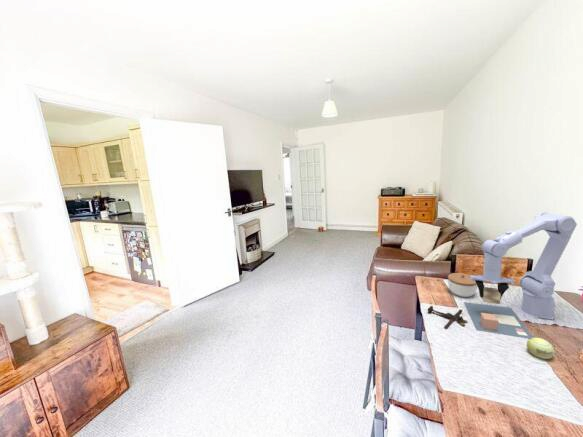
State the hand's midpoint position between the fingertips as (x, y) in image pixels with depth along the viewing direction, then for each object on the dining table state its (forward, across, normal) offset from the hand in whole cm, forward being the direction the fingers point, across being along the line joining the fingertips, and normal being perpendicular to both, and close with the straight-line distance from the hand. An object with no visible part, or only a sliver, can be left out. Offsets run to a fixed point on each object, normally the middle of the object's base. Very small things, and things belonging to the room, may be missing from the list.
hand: (489, 297), depth 105 cm
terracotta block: (+8, -2, -10) cm, 13 cm away
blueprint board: (+9, +1, -3) cm, 9 cm away
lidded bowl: (+9, -7, +17) cm, 20 cm away
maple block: (+1, 0, 0) cm, 1 cm away
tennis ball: (+9, +9, -22) cm, 25 cm away
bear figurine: (+9, -17, -8) cm, 21 cm away
